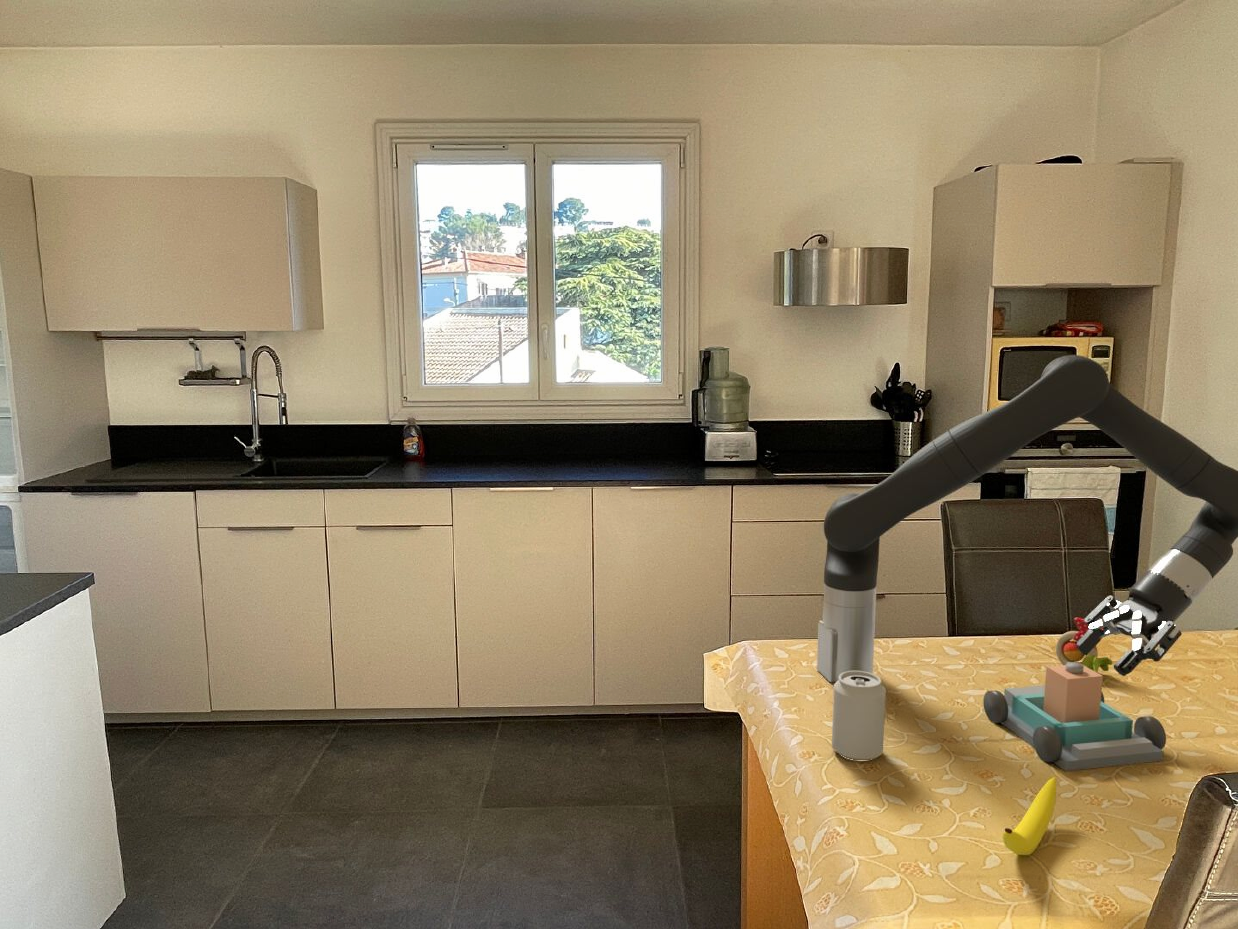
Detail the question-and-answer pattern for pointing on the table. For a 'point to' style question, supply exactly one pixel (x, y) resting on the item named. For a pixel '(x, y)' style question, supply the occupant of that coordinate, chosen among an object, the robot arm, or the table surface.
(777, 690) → the table surface
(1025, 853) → the banana
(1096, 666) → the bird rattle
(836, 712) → the can
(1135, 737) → the chassis
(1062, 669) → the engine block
